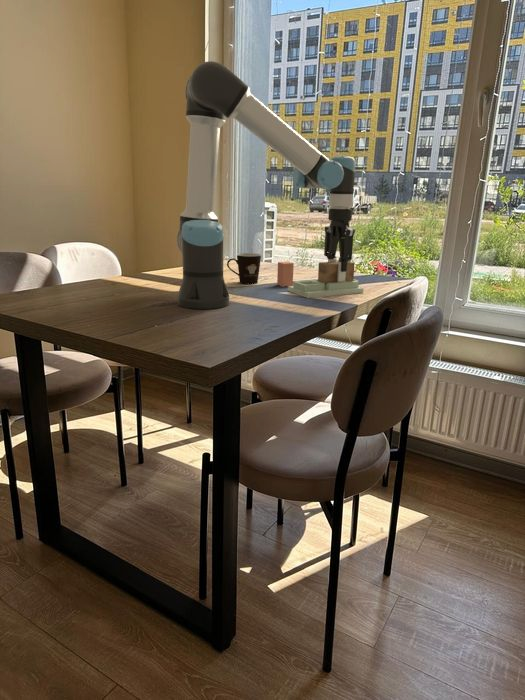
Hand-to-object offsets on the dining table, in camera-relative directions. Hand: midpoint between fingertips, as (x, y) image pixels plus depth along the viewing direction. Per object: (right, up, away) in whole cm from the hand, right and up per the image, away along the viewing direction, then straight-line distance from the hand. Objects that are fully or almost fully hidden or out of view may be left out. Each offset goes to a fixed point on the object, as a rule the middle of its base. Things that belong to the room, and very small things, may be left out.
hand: (336, 279), depth 173 cm
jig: (-4, -4, -1) cm, 6 cm away
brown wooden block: (0, 0, 0) cm, 0 cm away
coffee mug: (-31, 0, +12) cm, 34 cm away
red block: (-17, -1, +9) cm, 19 cm away
